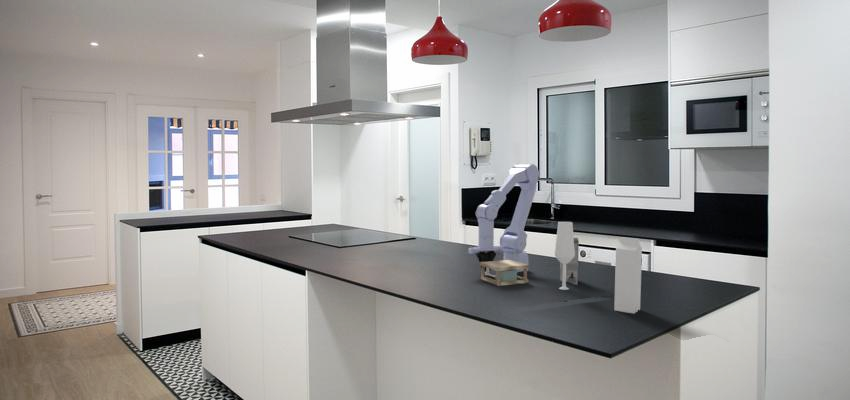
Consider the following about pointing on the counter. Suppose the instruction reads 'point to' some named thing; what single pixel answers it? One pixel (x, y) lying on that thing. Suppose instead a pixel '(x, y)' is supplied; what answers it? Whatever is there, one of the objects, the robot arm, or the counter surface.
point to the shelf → (498, 282)
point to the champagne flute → (564, 247)
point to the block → (504, 275)
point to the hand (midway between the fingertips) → (485, 271)
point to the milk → (628, 275)
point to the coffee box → (571, 266)
